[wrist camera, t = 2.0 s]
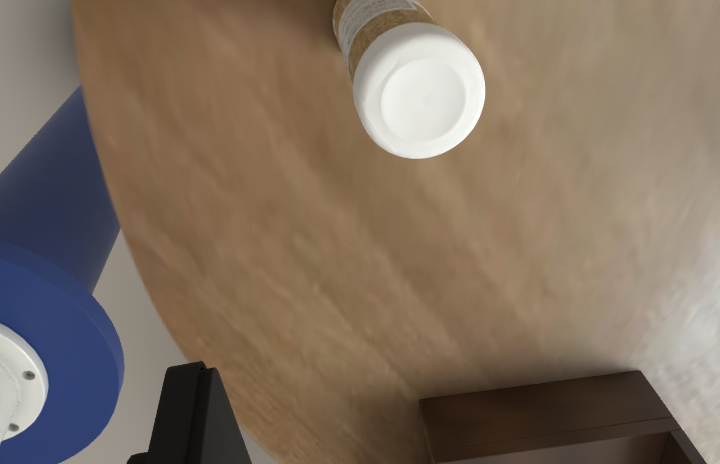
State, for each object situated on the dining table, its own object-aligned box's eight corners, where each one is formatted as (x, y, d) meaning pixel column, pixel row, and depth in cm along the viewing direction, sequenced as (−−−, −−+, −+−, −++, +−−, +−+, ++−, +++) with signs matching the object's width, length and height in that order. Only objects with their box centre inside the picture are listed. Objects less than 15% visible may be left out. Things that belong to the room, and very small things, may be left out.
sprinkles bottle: (422, 48, 34) (496, 144, 22) (342, 70, 34) (374, 177, 22) (406, -39, 31) (479, 18, 20) (319, -15, 31) (343, 55, 20)
